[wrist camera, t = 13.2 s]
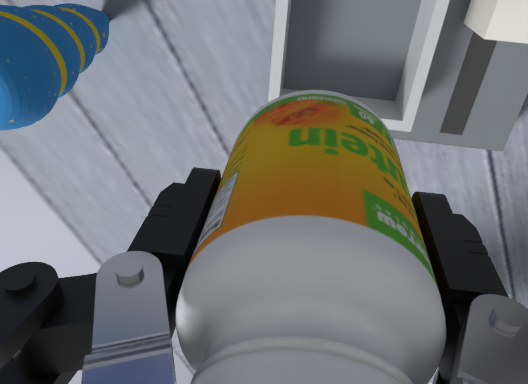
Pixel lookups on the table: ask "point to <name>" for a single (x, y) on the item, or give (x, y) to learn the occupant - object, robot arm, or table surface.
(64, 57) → the ornament
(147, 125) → the table surface
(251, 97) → the table surface
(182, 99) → the table surface
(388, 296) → the supplement bottle
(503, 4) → the breaker handle
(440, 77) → the breaker panel
